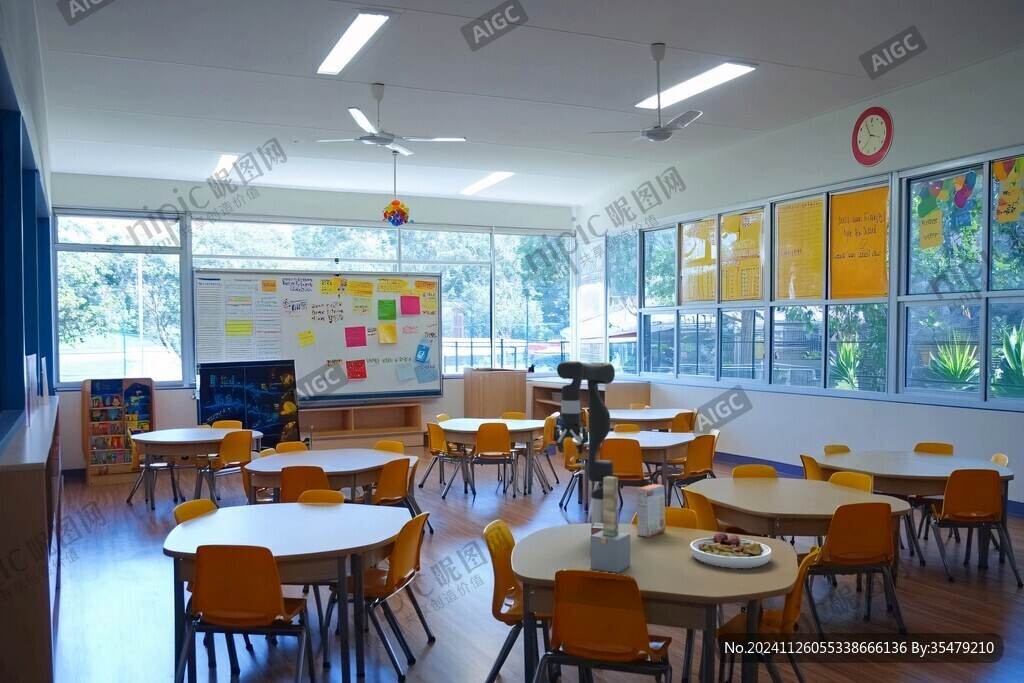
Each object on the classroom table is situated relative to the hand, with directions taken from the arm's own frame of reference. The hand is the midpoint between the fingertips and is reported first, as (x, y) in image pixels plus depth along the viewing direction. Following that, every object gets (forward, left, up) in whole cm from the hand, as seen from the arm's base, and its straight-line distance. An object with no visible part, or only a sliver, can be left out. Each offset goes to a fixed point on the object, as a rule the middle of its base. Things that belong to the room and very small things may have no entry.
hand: (570, 453), depth 294 cm
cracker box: (-50, +13, -40) cm, 66 cm away
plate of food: (-29, +54, -41) cm, 74 cm away
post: (+6, +20, -31) cm, 38 cm away
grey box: (+6, +20, -40) cm, 45 cm away
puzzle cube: (-14, +8, -40) cm, 43 cm away
